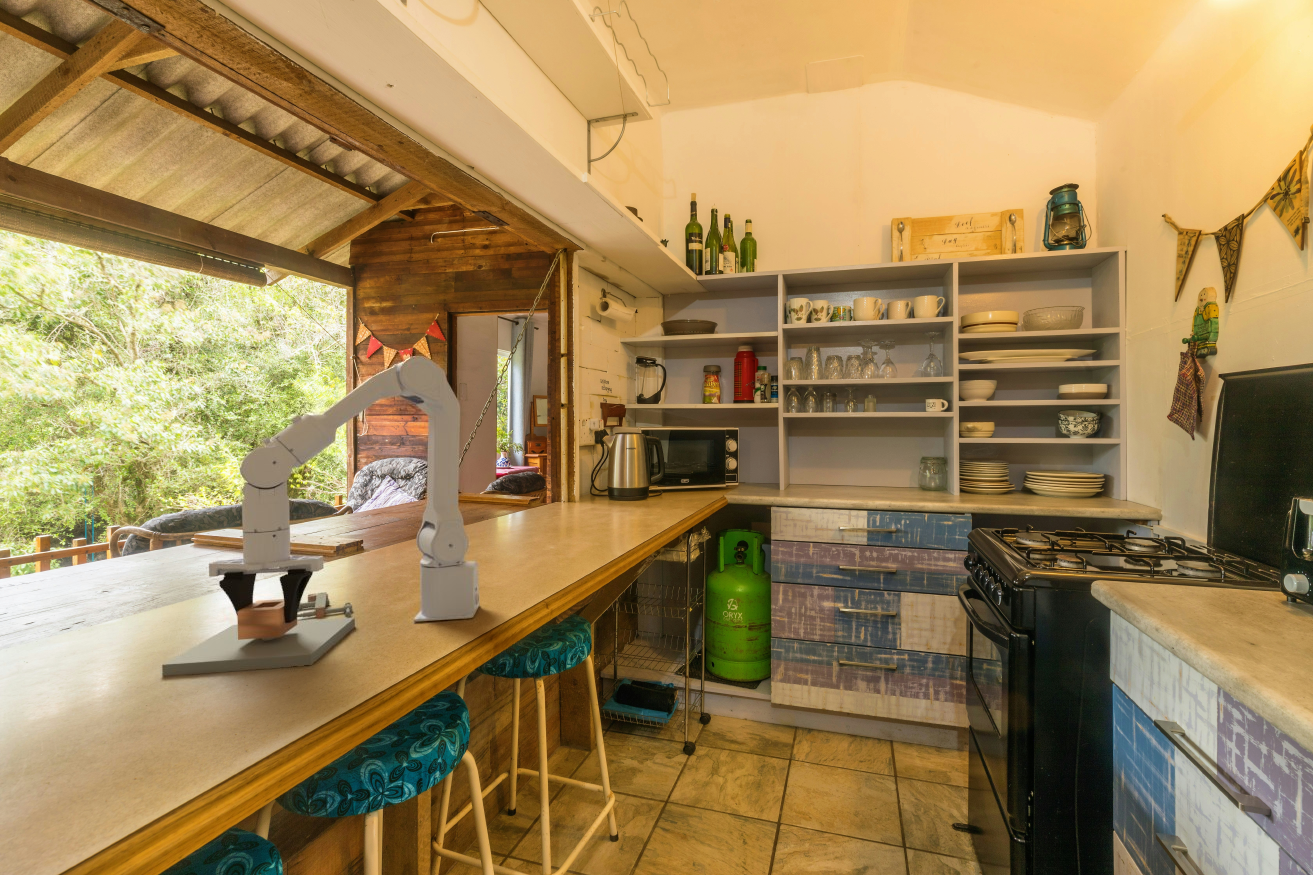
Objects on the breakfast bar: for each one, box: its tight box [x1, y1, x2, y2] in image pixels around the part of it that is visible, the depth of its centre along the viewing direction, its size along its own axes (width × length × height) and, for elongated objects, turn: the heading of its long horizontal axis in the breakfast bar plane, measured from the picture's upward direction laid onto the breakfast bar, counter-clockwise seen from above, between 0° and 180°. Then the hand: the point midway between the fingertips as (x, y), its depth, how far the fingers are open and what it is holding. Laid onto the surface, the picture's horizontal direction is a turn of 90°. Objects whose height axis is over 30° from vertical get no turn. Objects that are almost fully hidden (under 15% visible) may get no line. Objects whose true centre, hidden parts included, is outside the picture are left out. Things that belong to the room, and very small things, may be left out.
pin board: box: [161, 617, 356, 677], centre depth 84 cm, size 18×16×4 cm
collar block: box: [236, 598, 298, 640], centre depth 84 cm, size 5×5×4 cm
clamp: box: [297, 592, 353, 618], centre depth 102 cm, size 15×2×10 cm
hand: (268, 622), depth 84 cm, fingers closed on collar block, 5 cm apart
